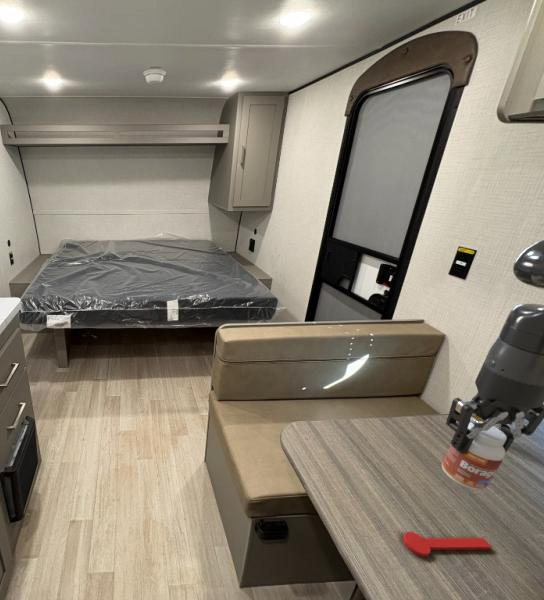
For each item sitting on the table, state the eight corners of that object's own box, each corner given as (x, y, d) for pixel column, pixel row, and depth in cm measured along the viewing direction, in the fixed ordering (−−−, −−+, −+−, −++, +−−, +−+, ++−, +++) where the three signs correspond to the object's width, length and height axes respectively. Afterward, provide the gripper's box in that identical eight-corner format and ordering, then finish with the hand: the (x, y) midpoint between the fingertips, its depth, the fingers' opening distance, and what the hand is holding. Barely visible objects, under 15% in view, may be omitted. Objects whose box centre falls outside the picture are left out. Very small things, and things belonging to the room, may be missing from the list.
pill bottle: (449, 484, 57) (473, 437, 53) (435, 458, 62) (455, 413, 58) (494, 496, 55) (523, 448, 51) (475, 468, 60) (500, 422, 56)
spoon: (476, 534, 60) (477, 531, 60) (496, 556, 57) (498, 553, 56) (398, 534, 60) (399, 531, 60) (414, 556, 57) (415, 554, 56)
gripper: (497, 384, 46) (456, 468, 53) (595, 384, 46) (542, 467, 53) (451, 357, 53) (419, 433, 60) (536, 356, 53) (495, 433, 60)
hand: (477, 449), depth 56 cm, fingers closed on pill bottle, 6 cm apart
